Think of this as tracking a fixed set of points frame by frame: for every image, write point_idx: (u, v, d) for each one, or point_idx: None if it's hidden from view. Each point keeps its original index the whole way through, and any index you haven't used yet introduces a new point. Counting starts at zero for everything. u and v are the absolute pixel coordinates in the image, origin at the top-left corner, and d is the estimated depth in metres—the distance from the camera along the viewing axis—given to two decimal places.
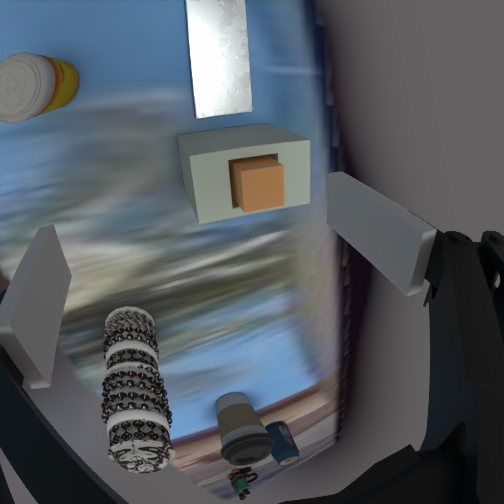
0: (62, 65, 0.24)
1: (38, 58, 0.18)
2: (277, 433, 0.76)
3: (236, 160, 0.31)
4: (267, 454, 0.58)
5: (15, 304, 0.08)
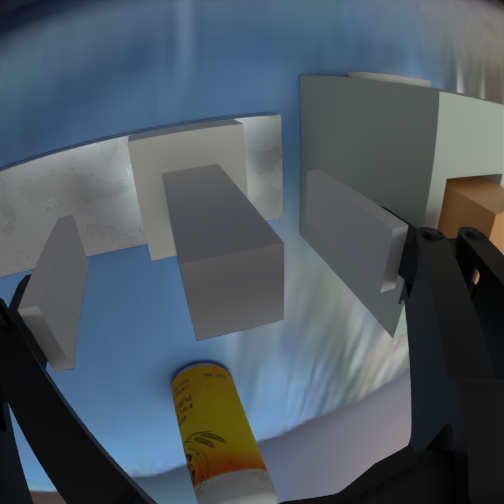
0: (195, 428, 0.23)
1: None
2: None
3: None
4: None
5: (42, 286, 0.08)
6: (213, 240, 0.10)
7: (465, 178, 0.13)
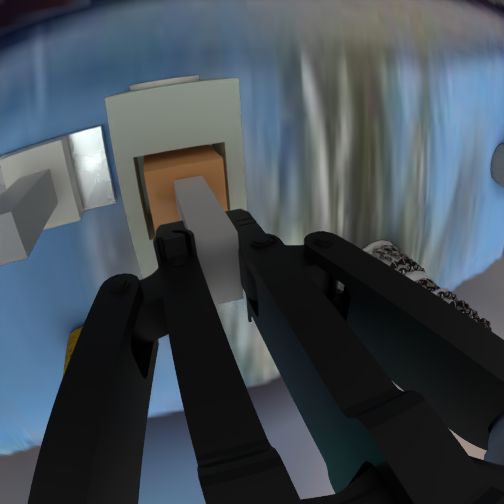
0: None
1: None
2: None
3: None
4: None
5: (207, 224, 0.11)
6: None
7: (181, 150, 0.18)
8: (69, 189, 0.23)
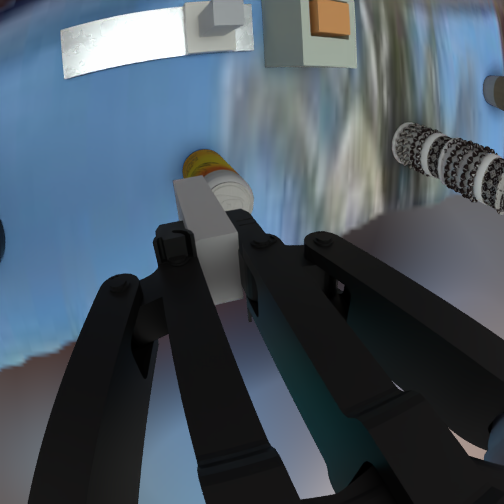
0: (199, 164, 0.38)
1: None
2: None
3: None
4: None
5: (207, 224, 0.11)
6: None
7: None
8: (233, 29, 0.33)
